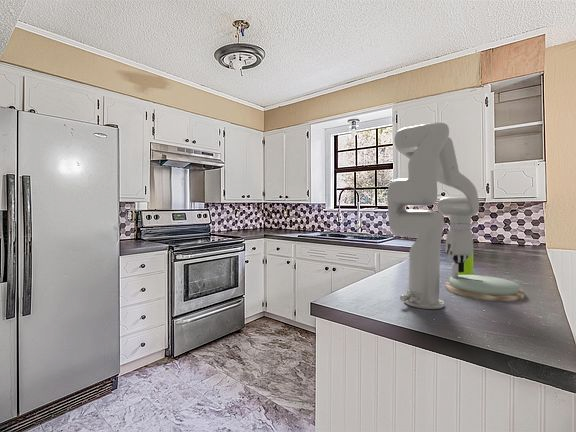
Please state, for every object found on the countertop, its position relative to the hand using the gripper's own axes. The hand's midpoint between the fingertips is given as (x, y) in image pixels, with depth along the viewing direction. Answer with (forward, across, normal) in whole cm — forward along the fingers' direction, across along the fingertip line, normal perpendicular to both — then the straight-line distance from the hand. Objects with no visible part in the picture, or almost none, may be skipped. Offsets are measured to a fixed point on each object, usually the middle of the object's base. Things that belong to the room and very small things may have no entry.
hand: (459, 271), depth 134 cm
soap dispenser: (+6, -15, -13) cm, 21 cm away
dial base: (+6, -2, +10) cm, 12 cm away
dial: (+4, -2, +10) cm, 11 cm away
